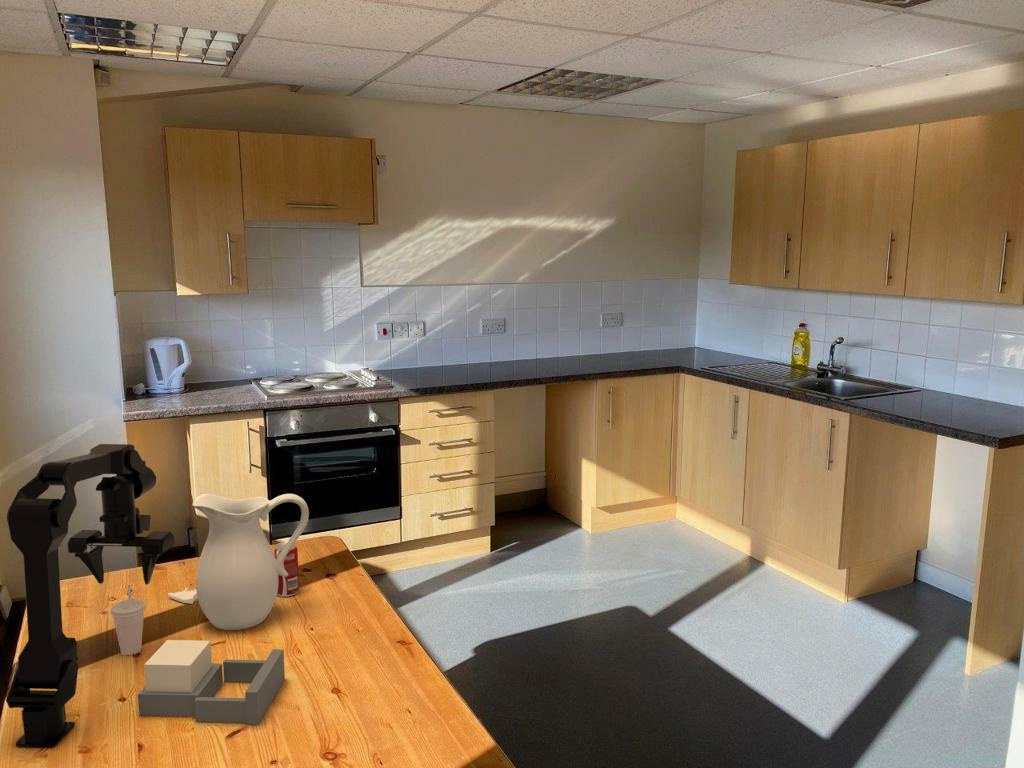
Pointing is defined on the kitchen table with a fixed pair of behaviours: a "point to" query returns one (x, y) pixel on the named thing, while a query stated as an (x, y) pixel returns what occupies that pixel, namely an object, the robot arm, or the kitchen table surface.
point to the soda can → (288, 571)
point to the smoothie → (129, 623)
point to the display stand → (228, 710)
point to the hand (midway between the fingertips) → (124, 583)
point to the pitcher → (240, 560)
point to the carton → (178, 666)
